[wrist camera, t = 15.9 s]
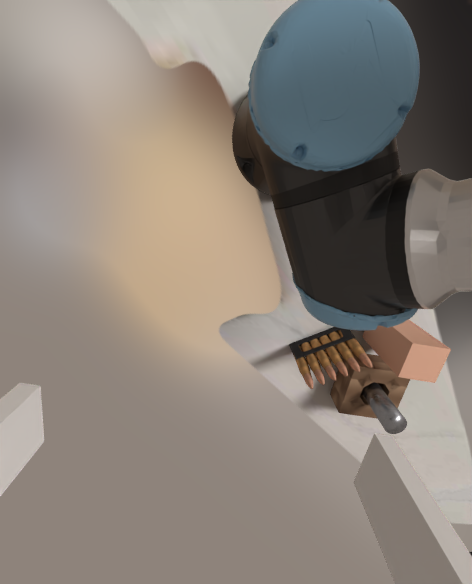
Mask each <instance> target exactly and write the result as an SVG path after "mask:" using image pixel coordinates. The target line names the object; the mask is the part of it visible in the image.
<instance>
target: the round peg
mask: <svg viewBox="0 0 472 584" xmlns="http://www.w3.org/2000/svg"><path fill="white" fill-rule="evenodd" d="M361 393H362V395H363V396H364V398H365V399H366V401H367V402H368V404H369V406H370V407H371V409H372V410H373V412H374V413H375V415H376V417H377V418H378V420H379V421H380V423H381V424H382V426H383V428H384V429H385V431H386V432H388V433H390V434H397V433H400V432H402V431H403V430H404V429H405V428H406V426H407V421H406V419H405V418H404V417H403V416H402V414H401V413H400V412H399V410H398V409H397V408H396V406H395V405H394V404H393V402H392V401H391V400H390V398H389V397H388V396H387V394H386V393H385V392H384V391H383V389H382V388H381V387H380V385H379V384H378V383H376V382H373V383H371V384H369V385H367V386H365V387H364V388H363V390H362V392H361Z"/></svg>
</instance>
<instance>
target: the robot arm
mask: <svg viewBox="0 0 472 584" xmlns="http://www.w3.org/2000/svg"><path fill="white" fill-rule="evenodd" d="M418 81H419V55H418V50H417V46H416V42H415V39H414V36H413V33H412V31H411V29H410V27H409V25H408V23H407V21H406V20H405V18H404V17H403V15H402V14H401V13H400V11H399V10H398V9H397V8H396V7H395V6H394V5H393V4H392V3H390V2H389V1H388V0H298V1H297V2H295V3H294V4H293V5H291V6H290V7H289V8H288V9H287V10H286V11H285V12H284V13H283V14H281V16H280V17H279V18H278V19H277V20H276V21H275V23H274V24H273V26H272V27H271V28H270V30H269V32H268V33H267V35H266V37H265V39H264V41H263V43H262V45H261V47H260V50H259V53H258V55H257V59H256V60H255V62H254V64H253V66H252V70H251V74H250V81H249V91H248V95H247V96H246V98H245V99H244V101H243V102H242V104H241V106H240V108H239V110H238V112H237V115H236V118H235V121H234V126H233V135H232V143H233V152H234V157H235V160H236V163H237V166H238V168H239V170H240V171H241V173H242V175H243V176H244V177H245V179H246V180H247V181H248V182H249V183H250V184H251V185H252V186H254V187H255V188H256V189H258V190H260V191H262V192H264V193H266V194H270V195H271V197H272V201H273V204H274V207H275V213H276V216H277V220H278V223H279V227H280V230H281V234H282V237H283V241H284V244H285V247H286V251H287V254H288V258H289V261H290V265H291V268H292V272H293V273H292V275H293V281H294V284H295V285H296V288H297V289H298V291H299V293H300V296H301V299H302V302H303V304H304V306H305V308H306V309H307V311H308V312H309V313H310V314H311V315H312V316H313V317H315V318H316V319H318V320H319V321H321V322H323V323H325V324H328V325H331V326H334V327H338V328H342V329H348V330H376V329H377V326H378V325H379V326H384V327H387V328H389V327H393V326H396V325H399V324H401V323H403V322H405V321H406V320H408V319H410V318H411V317H412V316H413V315H414V314H415V313H416V312H417V310H418V309H433V308H435V307H437V306H438V305H439V304H440V303H442V302H443V301H444V300H445V299H447V298H448V297H449V296H451V295H452V294H454V293H457V292H459V291H472V178H470V179H466V180H462V181H453V180H449V179H447V178H446V177H444V176H442V175H440V174H438V173H436V172H435V171H433V170H431V169H424V170H419V171H416V172H412V173H408V174H405V175H402V174H401V170H400V163H399V156H398V149H397V142H396V135H397V134H398V132H399V130H400V128H401V127H402V125H403V123H404V121H405V119H406V115H407V113H408V112H409V110H411V108H412V106H413V104H414V100H415V97H416V93H417V88H418ZM43 442H44V431H43V417H42V402H41V386H39V385H32V384H25V383H19V384H18V385H17V386H15V387H14V388H13V389H12V390H10V391H9V392H8V393H7V394H6V395H5V396H3V397H2V398H1V399H0V496H1V495H2V494H3V492H4V491H5V490H6V489H7V487H8V486H9V485H10V484H11V482H12V481H13V480H14V479H15V477H16V476H17V475H18V474H19V472H20V471H21V470H22V469H23V467H24V466H25V465H26V463H27V462H28V461H29V459H30V458H31V457H32V456H33V455H34V453H35V452H36V451H37V450H38V448H39V447H40V446H41V445H42V443H43ZM354 484H355V487H356V489H357V492H358V494H359V497H360V499H361V502H362V504H363V506H364V509H365V511H366V514H367V516H368V519H369V521H370V524H371V526H372V528H373V531H374V533H375V536H376V538H377V541H378V543H379V545H380V548H381V550H382V553H383V555H384V558H385V560H386V563H387V565H388V568H389V570H390V572H391V575H392V577H393V580H394V582H395V584H472V552H469V551H468V550H467V548H466V547H465V545H464V544H463V542H462V541H461V539H460V538H459V536H458V535H457V533H456V531H455V530H454V528H453V527H452V525H451V524H450V522H449V521H448V519H447V518H446V516H445V515H444V513H443V512H442V510H441V509H440V507H439V505H438V504H437V502H436V501H435V499H434V498H433V496H432V495H431V493H430V492H429V490H428V489H427V487H426V486H425V484H424V483H423V481H422V480H421V478H420V476H419V475H418V473H417V472H416V470H415V469H414V467H413V466H412V464H411V463H410V461H409V460H408V458H407V457H406V455H405V454H404V452H403V451H402V449H401V447H400V446H399V444H398V443H397V441H396V440H395V438H394V437H393V436H391V435H384V434H377V433H374V436H373V438H372V440H371V443H370V445H369V447H368V450H367V452H366V454H365V457H364V459H363V461H362V464H361V466H360V468H359V471H358V473H357V476H356V478H355V481H354Z"/></svg>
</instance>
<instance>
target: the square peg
mask: <svg viewBox="0 0 472 584" xmlns="http://www.w3.org/2000/svg"><path fill="white" fill-rule="evenodd" d="M362 337H363V339H364V340H365V341H366V342H367V343H368V344H369V345H370V346H371V347H372V348H373V350H374V351H375V352H376V353H377V354H378V355H379V356H380V357H381V358H382V360H383V361H384V362H385V363H386V364H387V365H388V366H389V367H390V368H391V370H392V371H393V372H394V373H395V374H396V375H397V376H398V377H401V378H407V379H414V380H420V381H427V382H433V383H435V382H436V380H437V378H438V376H439V374H440V371H441V369H442V367H443V365H444V363H445V361H446V359H447V357H448V355H449V353H450V351H451V349H450V348H448V347H447V346H446V345H444V344H443V343H441V342H440V341H438V340H437V339H436V338H434V337H433V336H431V335H430V334H429V333H427V332H426V331H424V330H423V329H421V328H420V327H419V326H417V325H416V324H414V323H413V322H412V321H410V320H409V319H408V320H406V321H405V322H403V323H401V324H399V325H396V326H393V327H389V328H387V327H384V326H379V325H378V326H377V329H376V330H364V333H363V336H362Z"/></svg>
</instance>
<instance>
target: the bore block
mask: <svg viewBox="0 0 472 584" xmlns="http://www.w3.org/2000/svg"><path fill="white" fill-rule="evenodd" d="M352 353H353V352H352ZM353 356H354V358H355V360H356V361H357V363H358V365H359V367H360V372H357V371H355V370H354V369H353V368H352V367H351V366H350V365H349V364H348V363H347V361H346V360H345V359H344V358H342V361H343V363H344V365H345V366H346V368H347V372H348V376H347V377H346V376H344V375H343V374H342V373H341V372H340V371H339V370H338V373H337V376H336V381H335V382H334V384H333V387H332V390H331V393H330V395H331V397H332V399H333V401H334V403H335V405H336V408H337V410H338V412H339V413H344V414H350V415H357V416H364V417H371V418H377V417H376V415H375V413H374V412H373V410H372V409H371V407H370V406H369V404H368V402H367V401H366V399H365V398H364V396H363V395H362V393H361V392H362V390H363V388H364V387H365V386H367V385H369V384H371V383H373V382H376V383H378V384H379V385H380V387H381V388H382V389H383V391H384V392H385V393H386V394H387V396H388V397H389V398H390V400H391V401H392V402H393V404H394V405H395V406H396V408H398V406H399V403H400V401H401V399H402V397H403V394H404V392H405V390H406V388H407V385H408V383H409V381H410V379H407V378H401V377H398V376H397V375H396V374H395V373H394V372H393V371H392V370H391V368H390V367H389V366H388V365H387V364H386V363H385V362H384V361H383V360H382V358H381V357H380V356H377V355H370V354H367V356H368V357H369V359H370V361H371V363H372V368H369V367H368V366H366V365H365V364H364V363H363V362H362V361H361V360H360V359H359V358H358V357H357V356H356V355H355V354H354V353H353Z"/></svg>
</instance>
